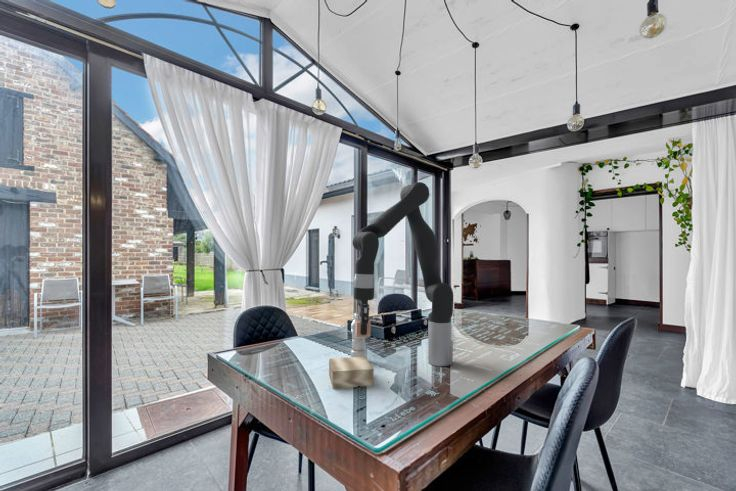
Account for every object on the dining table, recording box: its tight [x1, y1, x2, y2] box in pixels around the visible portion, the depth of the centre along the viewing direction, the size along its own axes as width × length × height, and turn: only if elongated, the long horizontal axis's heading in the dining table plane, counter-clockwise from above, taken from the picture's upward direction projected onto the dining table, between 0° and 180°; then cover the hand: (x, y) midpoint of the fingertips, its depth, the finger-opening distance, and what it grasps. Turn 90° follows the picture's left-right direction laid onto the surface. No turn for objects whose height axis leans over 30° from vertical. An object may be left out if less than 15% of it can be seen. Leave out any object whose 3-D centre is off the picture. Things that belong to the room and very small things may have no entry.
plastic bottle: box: [350, 312, 368, 358], centre depth 143 cm, size 6×7×20 cm
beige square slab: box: [328, 356, 375, 389], centre depth 123 cm, size 14×14×6 cm
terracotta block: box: [355, 319, 372, 338], centre depth 125 cm, size 5×5×5 cm
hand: (362, 332), depth 125 cm, fingers closed on terracotta block, 5 cm apart
